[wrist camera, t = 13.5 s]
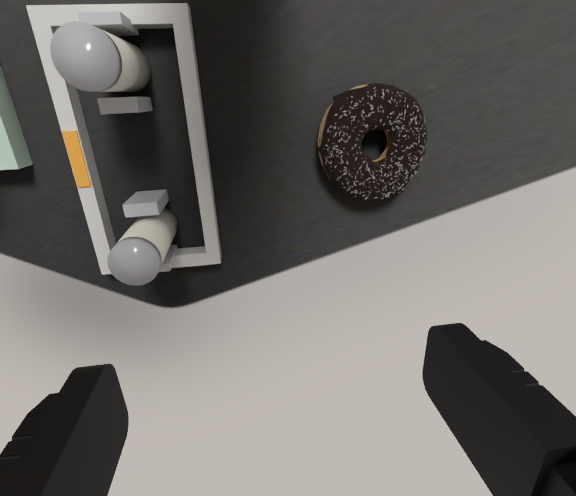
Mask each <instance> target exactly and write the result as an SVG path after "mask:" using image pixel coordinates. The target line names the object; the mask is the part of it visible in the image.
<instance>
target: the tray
mask: <svg viewBox="0 0 576 496" xmlns="http://www.w3.org/2000/svg"><path fill="white" fill-rule="evenodd" d="M30 165H33V163H32V160H31V157H30V154H29V151H28V148H27V145H26V142H25V139H24V135H23V132H22V129H21V126H20V123H19V120H18V117H17V114H16V111H15V108H14V105H13V102H12V99H11V95H10V92H9V89H8V86H7V83H6V80H5V77H4V74H3V71H2V68H1V65H0V170H12V169H21V168H24V167H27V166H30Z"/></svg>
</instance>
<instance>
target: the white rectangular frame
mask: <svg viewBox="0 0 576 496" xmlns="http://www.w3.org/2000/svg"><path fill="white" fill-rule="evenodd" d="M26 7H27V11H28V15H29V18H30V22H31V25H32V29H33V32H34V36H35V39H36V43H37V46H38V50H39V53H40V57H41V61H42V64H43V68H44V71H45V75H46V78H47V82H48V85H49V89H50V92H51V96H52V99H53V103H54V107H55V110H56V114H57V117H58V121H59V124H60V128H61V131H62V135H63V138H64V142H65V145H66V149H67V153H68V156H69V160H70V163H71V167H72V170H73V174H74V177H75V181H76V184H77V188H78V191H79V195H80V199H81V202H82V206H83V209H84V213H85V216H86V220H87V223H88V227H89V230H90V234H91V238H92V241H93V245H94V248H95V252H96V255H97V259H98V262H99V266H100V269H101V273H102V275H104V274H112V273H111V272H110V270H109V268H108V263H107V259H108V255H109V253H110V251H111V250H112V248H113V247H114V246H115V245H116V241H115V237H114V234H113V230H112V226H111V222H110V218H109V214H108V210H107V206H106V202H105V198H104V194H103V190H102V186H101V182H100V179H99V175H98V171H97V167H96V163H95V159H94V155H93V151H92V147H91V143H90V139H89V135H88V131H87V127H86V124H85V120H84V116H83V112H82V108H81V104H80V100H79V96H78V92H77V88H75V87H74V86H72V85H70V84H69V83H68V82H66V81H65V80H64V79H63V78H62V77H61V75H60V74H59V73H58V71H57V70H56V68H55V66H54V64H53V61H52V58H51V53H50V44H51V40H52V37H53V34H54V33H55V31H56V30H57V29H58V28H59V27H60V26H62V25H63V24H65V23H68V22H73V21H80V22H85V23H88V24H91V25H93V26H95V27H97V28H99V29H101V30H103V31H106V32H108V33H110V34H112V35H114V36H134V35H139V32H138V29H150V28H173V29H174V36H175V42H176V49H177V56H178V63H179V70H180V77H181V84H182V90H183V97H184V104H185V111H186V118H187V125H188V132H189V138H190V145H191V152H192V159H193V166H194V173H195V180H196V186H197V193H198V200H199V207H200V214H201V221H202V228H203V235H204V241H205V246H201V247H190V248H177V244H176V245H170V247H169V250H168V252H167V254H166V256H165V258H164V261H163V263H162V265H161V267H160V269H159V272H166V271H170V270H171V268H179V267H190V266H201V265H211V264H221V258H222V255H221V247H220V239H219V231H218V223H217V215H216V208H215V200H214V192H213V184H212V176H211V168H210V160H209V152H208V145H207V137H206V129H205V121H204V113H203V105H202V97H201V89H200V82H199V74H198V66H197V58H196V50H195V42H194V34H193V27H192V19H191V11H190V7H189V5H188V4H187V3H160V4H91V5H26ZM97 99H98V103H99V108H100V112H101V114H119V113H140V112H147V111H153V109H152V104H151V98H150V97H116V98H97ZM168 201H169V198H168V193H167V189H165V190H151V191H137V192H136V193H135V194H134V195H133V196H131V197H130V198H129V199H128V200H127V201H126V202H125V203H124V204H123V210H124V214H125V217H138V216H151V215H160V213H161V212H162V210H163V209H164V207H165V206H166V204H167V203H168Z"/></svg>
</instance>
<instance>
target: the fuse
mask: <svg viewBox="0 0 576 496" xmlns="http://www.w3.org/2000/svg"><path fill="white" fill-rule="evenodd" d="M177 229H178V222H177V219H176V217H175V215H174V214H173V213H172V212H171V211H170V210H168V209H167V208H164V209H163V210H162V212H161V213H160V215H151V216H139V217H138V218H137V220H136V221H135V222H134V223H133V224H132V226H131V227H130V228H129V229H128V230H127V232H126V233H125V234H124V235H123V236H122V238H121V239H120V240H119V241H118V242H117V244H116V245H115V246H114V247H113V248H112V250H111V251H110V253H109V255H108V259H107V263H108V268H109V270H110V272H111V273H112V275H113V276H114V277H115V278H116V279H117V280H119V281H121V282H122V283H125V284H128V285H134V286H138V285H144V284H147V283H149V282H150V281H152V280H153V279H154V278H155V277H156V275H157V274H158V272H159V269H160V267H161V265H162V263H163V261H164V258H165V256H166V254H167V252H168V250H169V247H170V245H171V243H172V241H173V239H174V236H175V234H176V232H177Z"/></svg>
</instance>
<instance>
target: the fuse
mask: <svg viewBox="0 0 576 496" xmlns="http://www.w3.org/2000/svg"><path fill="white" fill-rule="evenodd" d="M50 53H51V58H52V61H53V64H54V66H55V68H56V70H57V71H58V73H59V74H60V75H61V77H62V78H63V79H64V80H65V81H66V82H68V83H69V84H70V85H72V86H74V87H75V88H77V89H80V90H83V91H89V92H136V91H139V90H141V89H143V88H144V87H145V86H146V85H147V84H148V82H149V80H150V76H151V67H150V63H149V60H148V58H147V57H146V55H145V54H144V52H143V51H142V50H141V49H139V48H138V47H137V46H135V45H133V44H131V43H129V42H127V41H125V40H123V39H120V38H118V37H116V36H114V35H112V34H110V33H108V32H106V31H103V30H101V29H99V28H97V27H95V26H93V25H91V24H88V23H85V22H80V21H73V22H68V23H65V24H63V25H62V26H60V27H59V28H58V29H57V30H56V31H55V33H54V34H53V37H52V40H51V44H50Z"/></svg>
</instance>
